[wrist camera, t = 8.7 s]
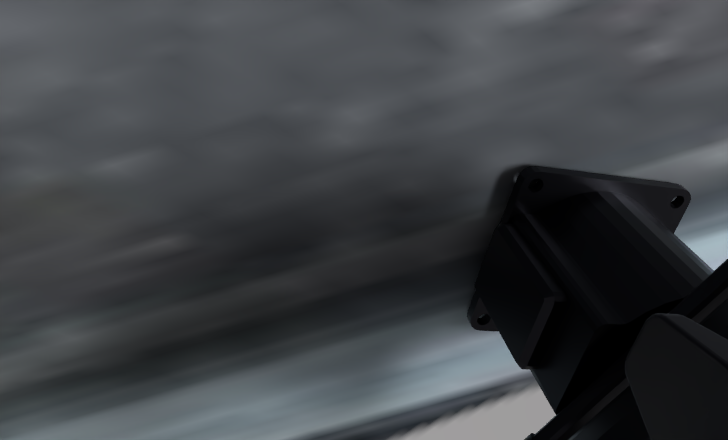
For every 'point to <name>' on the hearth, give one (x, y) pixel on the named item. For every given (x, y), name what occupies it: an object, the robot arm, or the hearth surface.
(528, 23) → the hearth surface
